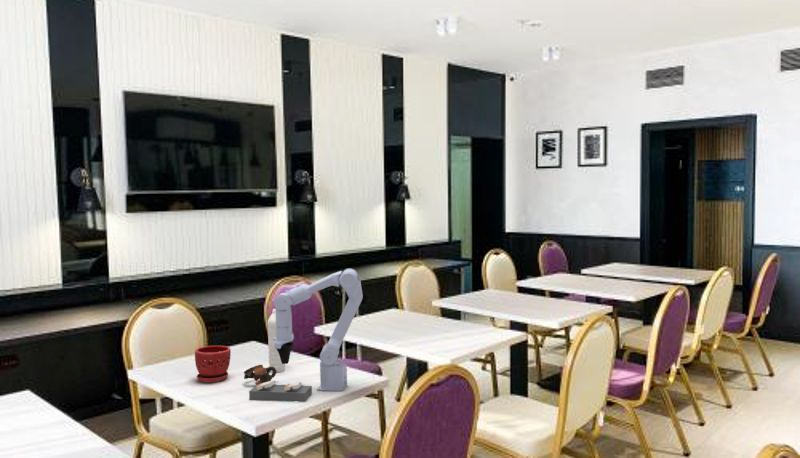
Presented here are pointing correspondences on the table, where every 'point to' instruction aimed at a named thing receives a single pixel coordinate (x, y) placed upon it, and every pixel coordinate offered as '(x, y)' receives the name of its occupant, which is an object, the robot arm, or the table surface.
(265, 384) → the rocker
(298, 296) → the robot arm
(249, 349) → the table surface
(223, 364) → the plant pot
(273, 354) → the water bottle
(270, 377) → the pottery mug
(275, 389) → the power strip
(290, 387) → the block
